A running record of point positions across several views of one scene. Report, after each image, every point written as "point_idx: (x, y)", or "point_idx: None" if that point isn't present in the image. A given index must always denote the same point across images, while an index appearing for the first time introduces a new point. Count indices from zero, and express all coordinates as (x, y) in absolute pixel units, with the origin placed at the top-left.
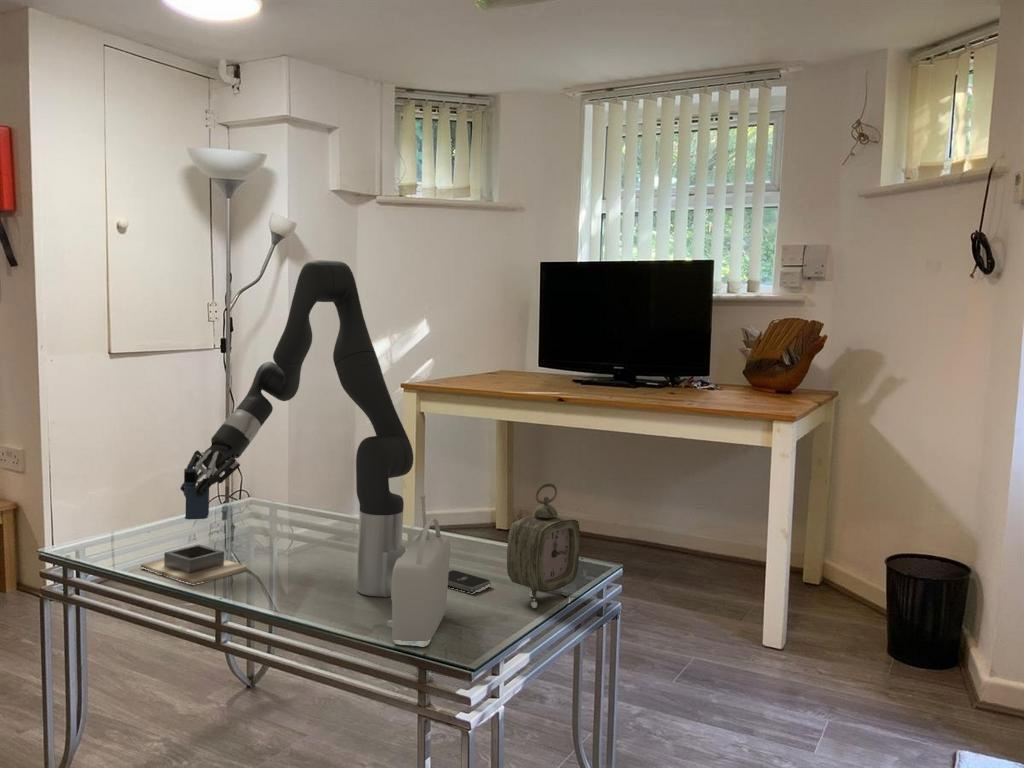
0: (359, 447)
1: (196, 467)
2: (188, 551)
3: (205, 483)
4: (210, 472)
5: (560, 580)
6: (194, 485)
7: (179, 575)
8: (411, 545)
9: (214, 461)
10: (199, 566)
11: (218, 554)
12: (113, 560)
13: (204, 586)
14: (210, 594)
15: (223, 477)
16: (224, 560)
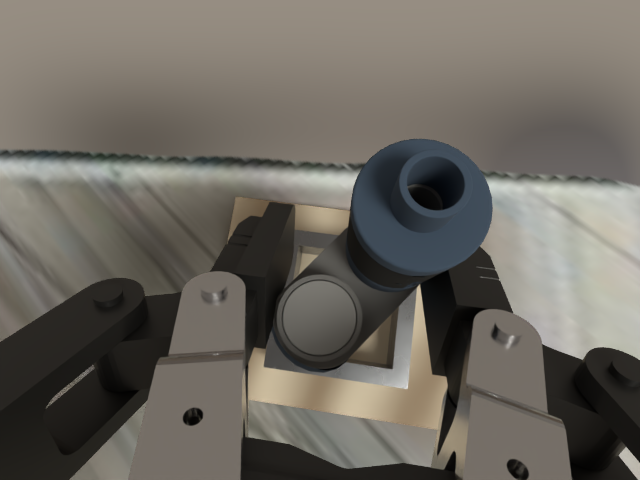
0: None
1: (509, 396)
2: (395, 328)
3: (225, 259)
4: (190, 322)
5: None
6: (347, 254)
7: (305, 214)
8: None
9: (145, 462)
10: None
11: (268, 342)
12: (613, 245)
13: (212, 216)
14: (157, 180)
15: (82, 396)
16: (301, 400)
